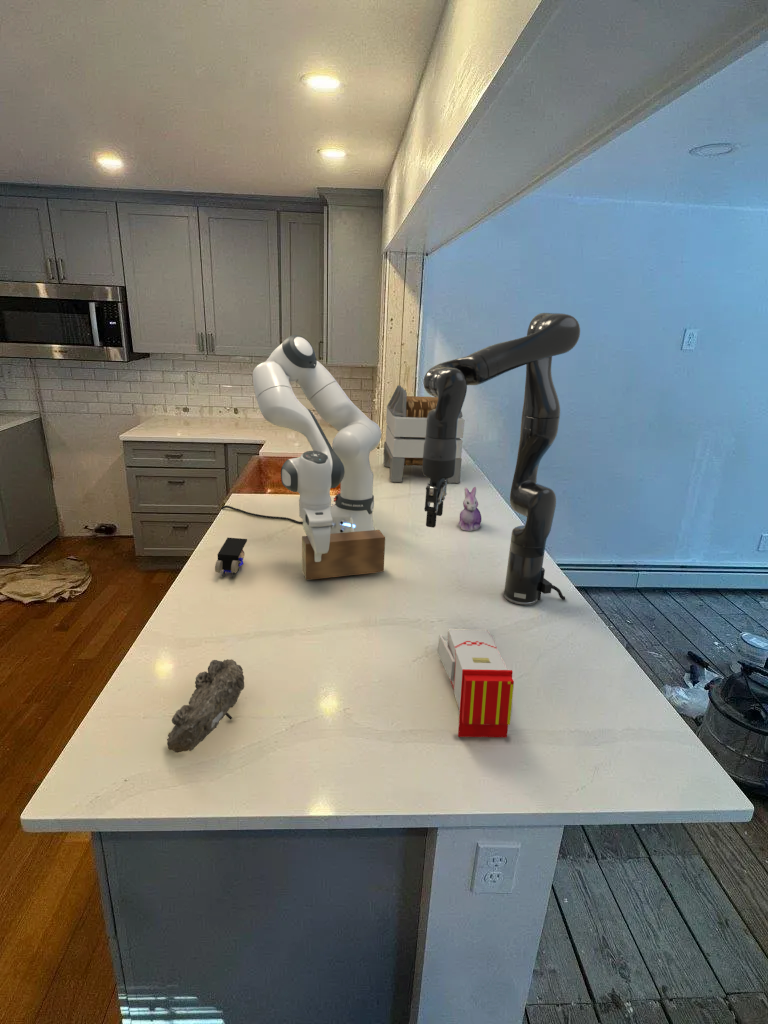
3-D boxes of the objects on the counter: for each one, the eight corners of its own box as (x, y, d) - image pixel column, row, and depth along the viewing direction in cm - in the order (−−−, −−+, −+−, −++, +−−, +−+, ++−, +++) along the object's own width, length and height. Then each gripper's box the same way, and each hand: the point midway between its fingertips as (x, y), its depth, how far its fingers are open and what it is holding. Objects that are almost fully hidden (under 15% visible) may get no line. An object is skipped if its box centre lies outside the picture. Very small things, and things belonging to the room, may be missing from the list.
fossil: (192, 660, 117) (244, 628, 112) (224, 691, 120) (276, 661, 115) (142, 746, 98) (202, 712, 93) (182, 779, 101) (242, 748, 96)
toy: (488, 613, 130) (523, 677, 101) (484, 667, 133) (517, 744, 104) (435, 612, 130) (455, 676, 101) (432, 666, 133) (451, 743, 103)
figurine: (467, 533, 203) (471, 493, 198) (451, 523, 211) (454, 485, 206) (488, 529, 207) (492, 490, 202) (471, 520, 215) (475, 482, 210)
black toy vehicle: (238, 584, 162) (249, 557, 175) (236, 562, 158) (247, 536, 172) (215, 584, 161) (227, 556, 175) (212, 561, 158) (225, 535, 171)
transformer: (382, 463, 289) (386, 382, 275) (445, 464, 293) (451, 384, 279) (390, 482, 257) (394, 392, 243) (460, 483, 261) (468, 394, 247)
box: (305, 580, 161) (305, 544, 157) (302, 570, 166) (301, 536, 162) (383, 571, 168) (385, 537, 164) (377, 563, 173) (379, 529, 169)
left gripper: (297, 498, 166) (297, 542, 171) (310, 523, 148) (310, 571, 153) (318, 497, 168) (318, 540, 173) (334, 522, 150) (333, 569, 154)
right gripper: (450, 464, 124) (444, 533, 129) (460, 450, 137) (454, 513, 142) (416, 460, 125) (412, 528, 131) (429, 447, 138) (425, 509, 144)
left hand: (314, 555), depth 162 cm, fingers closed on box, 6 cm apart
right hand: (434, 520), depth 136 cm, fingers open, 8 cm apart
